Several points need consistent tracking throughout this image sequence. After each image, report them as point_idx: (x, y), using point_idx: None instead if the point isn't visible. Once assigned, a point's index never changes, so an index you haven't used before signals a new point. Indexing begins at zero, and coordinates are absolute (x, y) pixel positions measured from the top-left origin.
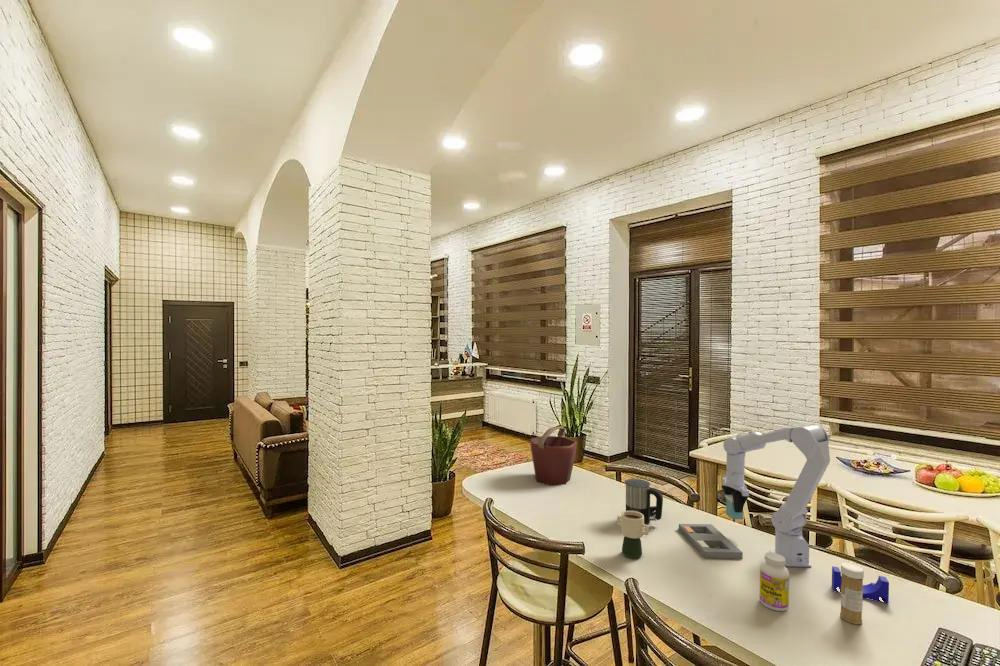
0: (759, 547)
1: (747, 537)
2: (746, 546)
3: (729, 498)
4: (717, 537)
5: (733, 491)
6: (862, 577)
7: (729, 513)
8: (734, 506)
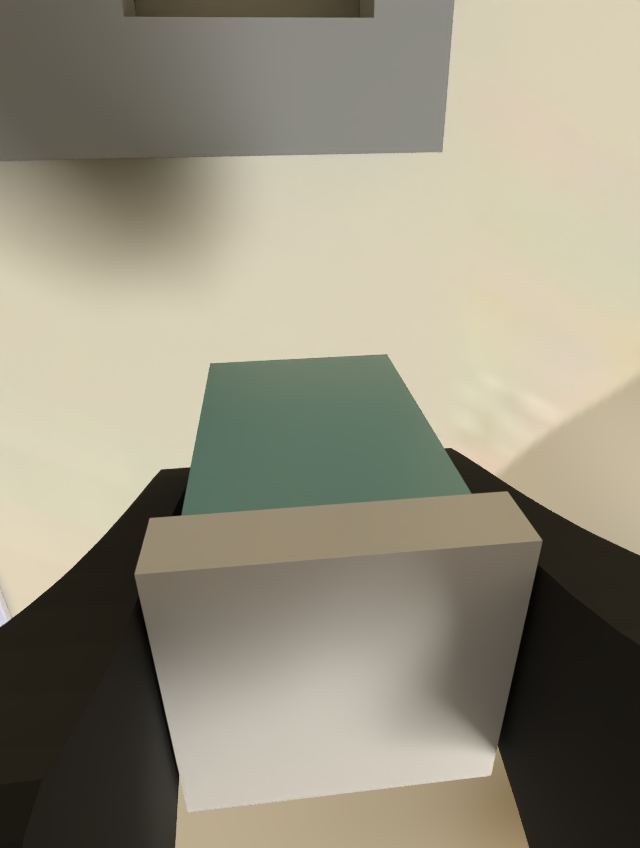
0: (51, 459)
1: None
2: (41, 354)
3: (277, 549)
4: (4, 15)
5: (553, 795)
6: None
7: (282, 381)
8: (160, 512)
